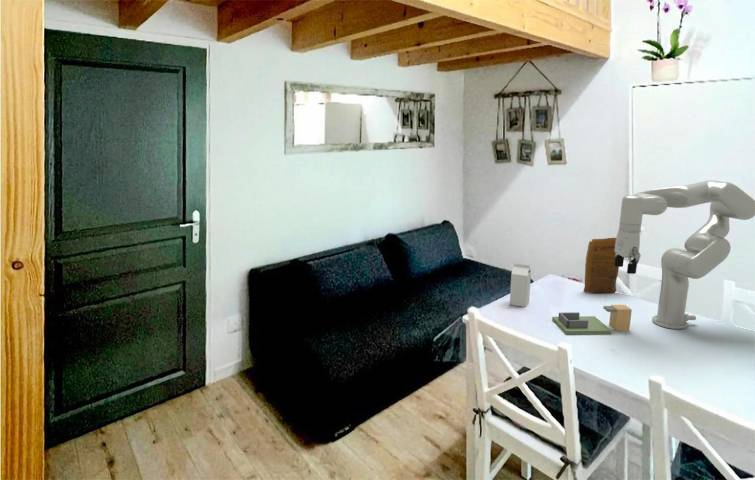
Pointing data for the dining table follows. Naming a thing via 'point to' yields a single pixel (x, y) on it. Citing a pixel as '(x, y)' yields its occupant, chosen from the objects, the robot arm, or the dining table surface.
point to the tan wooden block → (619, 317)
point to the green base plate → (580, 324)
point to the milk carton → (520, 285)
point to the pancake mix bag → (601, 266)
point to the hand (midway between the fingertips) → (624, 269)
